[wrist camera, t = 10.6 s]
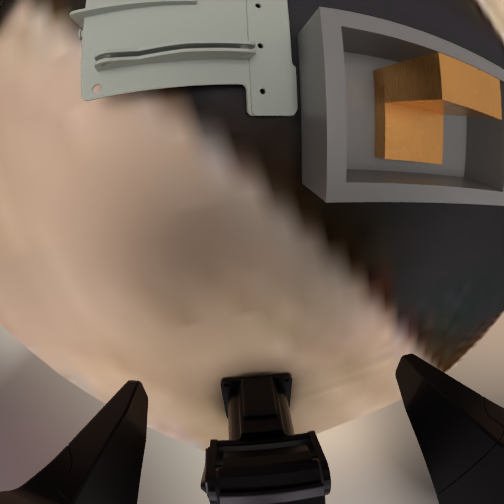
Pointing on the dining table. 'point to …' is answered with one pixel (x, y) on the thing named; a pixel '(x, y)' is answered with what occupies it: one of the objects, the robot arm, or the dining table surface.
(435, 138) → the wood grain brick
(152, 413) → the dining table surface
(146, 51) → the metal bracket
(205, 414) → the dining table surface
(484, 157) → the open box
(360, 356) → the dining table surface
